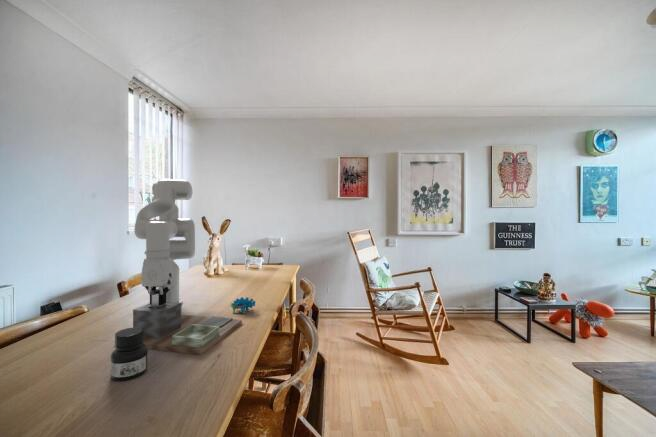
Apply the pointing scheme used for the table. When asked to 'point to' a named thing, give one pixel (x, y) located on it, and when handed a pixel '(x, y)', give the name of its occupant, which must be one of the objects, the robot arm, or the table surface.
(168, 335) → the workbench
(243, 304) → the blue lumpy piece
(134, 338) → the ink bottle
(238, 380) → the table surface
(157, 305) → the grey capped block
